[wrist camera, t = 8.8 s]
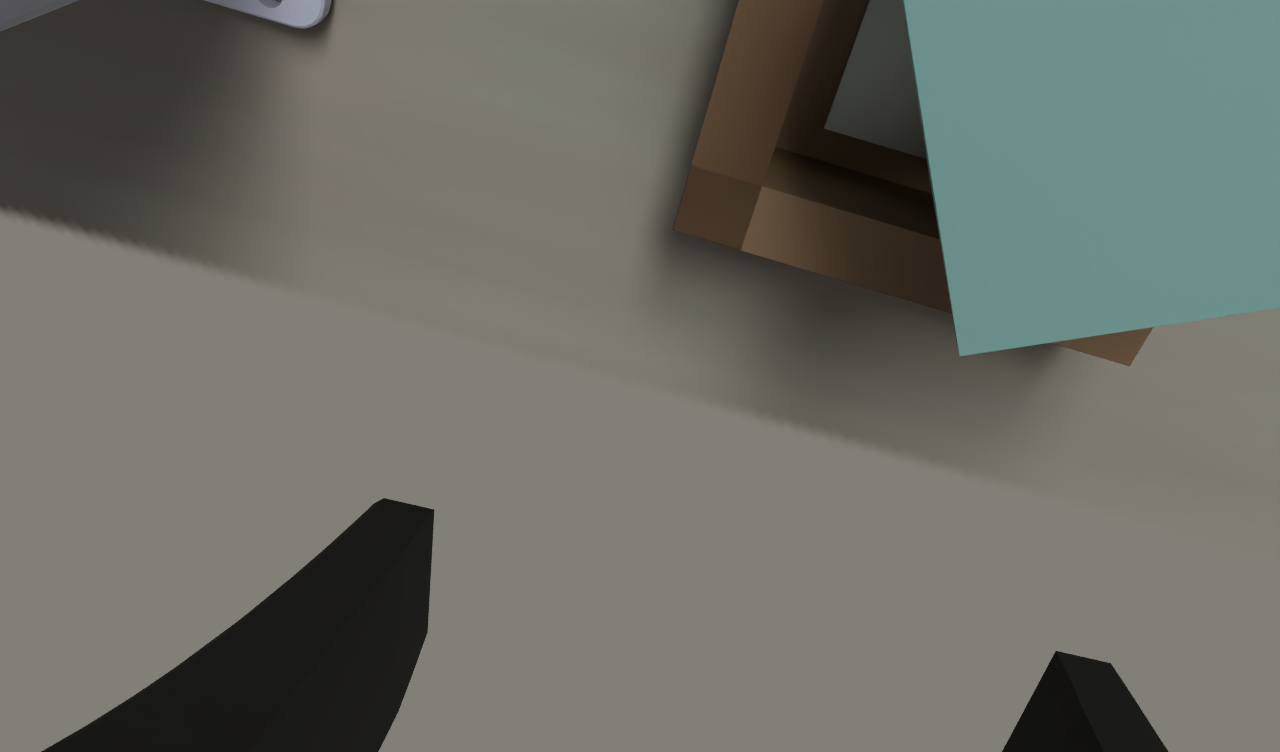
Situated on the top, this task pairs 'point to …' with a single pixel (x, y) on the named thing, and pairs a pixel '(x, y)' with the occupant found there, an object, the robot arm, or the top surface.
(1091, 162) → the block
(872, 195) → the tray
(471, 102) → the top surface
